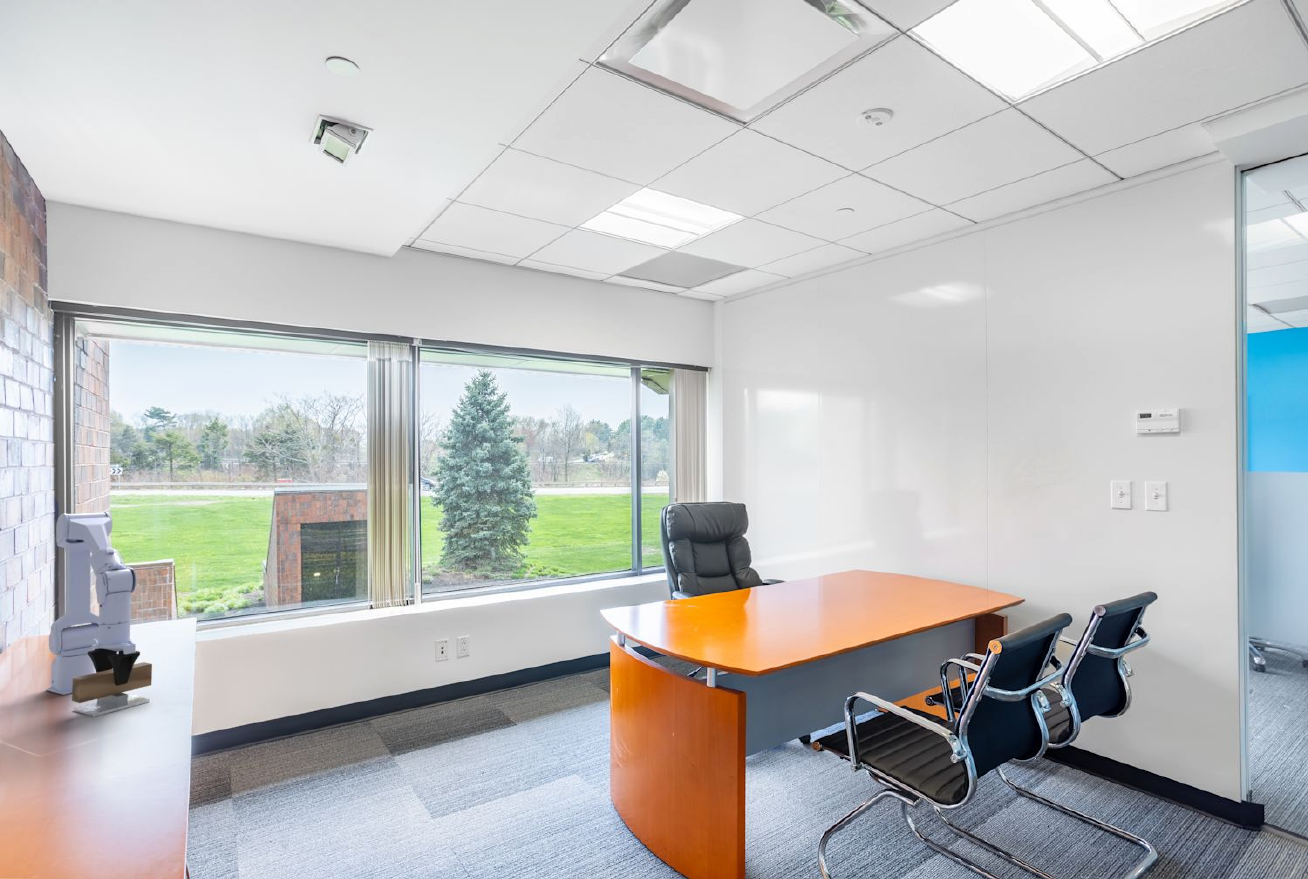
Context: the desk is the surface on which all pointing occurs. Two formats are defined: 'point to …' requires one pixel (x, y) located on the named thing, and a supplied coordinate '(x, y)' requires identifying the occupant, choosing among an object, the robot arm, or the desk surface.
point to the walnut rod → (109, 683)
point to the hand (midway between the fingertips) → (112, 682)
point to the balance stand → (111, 704)
